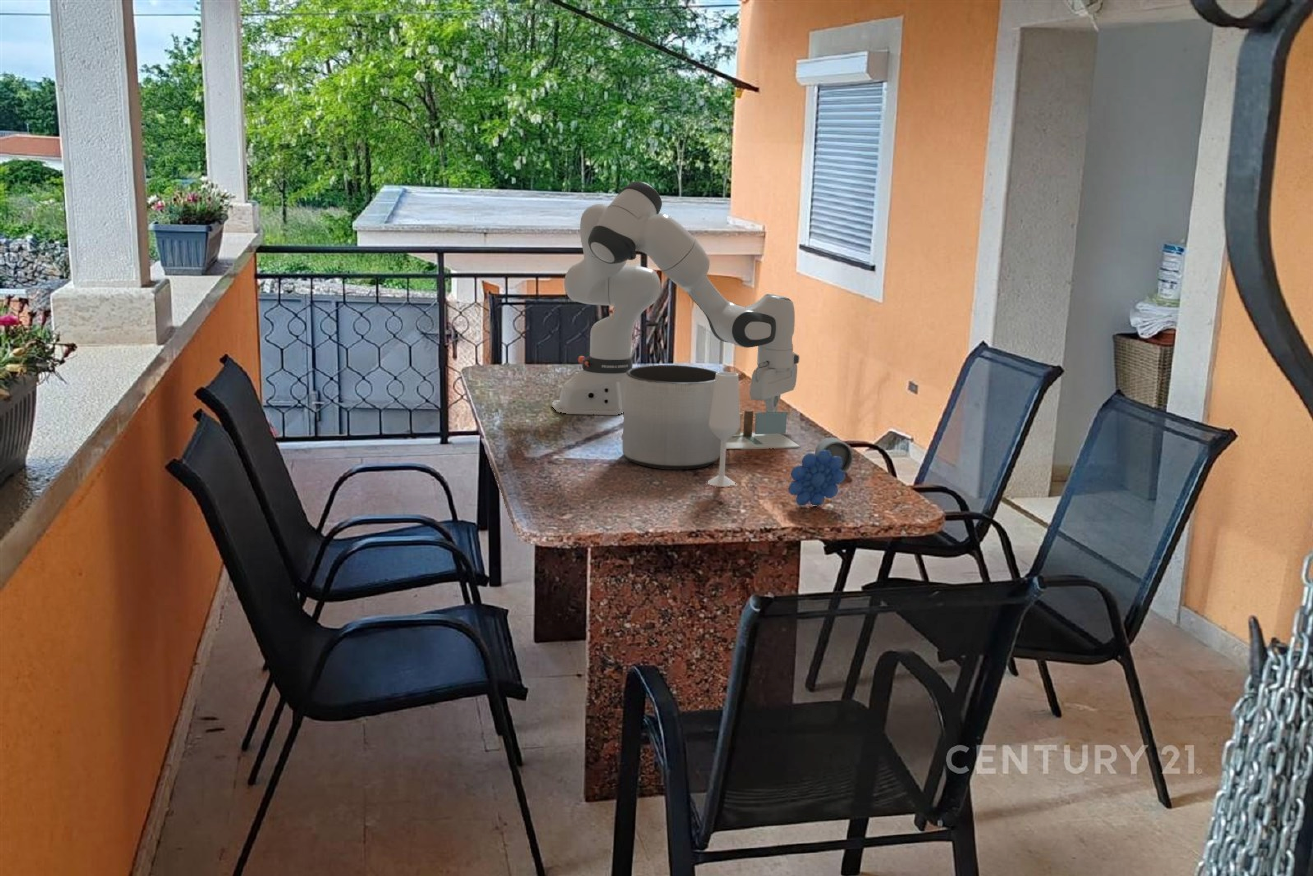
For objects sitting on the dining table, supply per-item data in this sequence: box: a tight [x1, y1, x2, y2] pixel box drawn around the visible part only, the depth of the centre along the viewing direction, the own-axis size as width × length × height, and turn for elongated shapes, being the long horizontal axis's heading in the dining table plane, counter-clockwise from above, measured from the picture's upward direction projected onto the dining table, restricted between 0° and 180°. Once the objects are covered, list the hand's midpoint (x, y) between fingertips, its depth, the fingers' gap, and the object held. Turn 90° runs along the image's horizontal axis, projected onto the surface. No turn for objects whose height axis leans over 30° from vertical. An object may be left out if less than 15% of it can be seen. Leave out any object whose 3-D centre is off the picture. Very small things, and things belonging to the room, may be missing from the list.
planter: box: [621, 364, 721, 470], centre depth 280 cm, size 23×23×20 cm
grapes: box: [788, 450, 846, 507], centre depth 248 cm, size 12×7×12 cm, turn 99°
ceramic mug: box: [801, 437, 854, 473], centre depth 276 cm, size 11×8×8 cm
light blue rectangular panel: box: [754, 411, 788, 435], centre depth 306 cm, size 8×1×5 cm, turn 105°
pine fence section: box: [734, 409, 754, 437], centre depth 303 cm, size 13×2×7 cm, turn 105°
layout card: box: [726, 432, 801, 450], centre depth 301 cm, size 21×15×1 cm
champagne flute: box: [707, 371, 741, 486], centre depth 260 cm, size 7×7×24 cm
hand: (771, 412), depth 311 cm, fingers closed
